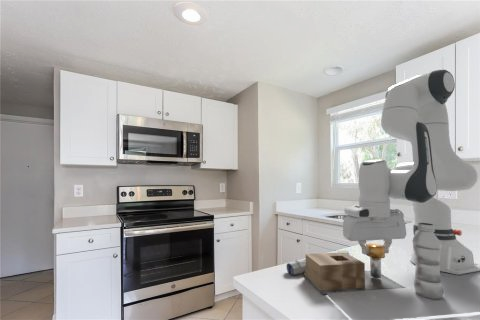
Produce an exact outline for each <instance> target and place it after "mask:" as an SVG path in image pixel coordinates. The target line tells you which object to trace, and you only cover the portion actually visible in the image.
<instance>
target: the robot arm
mask: <svg viewBox="0 0 480 320" xmlns="http://www.w3.org/2000/svg"><path fill="white" fill-rule="evenodd" d="M455 87H456V85H455V79H454V76H453V74H452V73H451V71H449V70H447V69H437V70H433V71H431V72H428V73H423V74H419V75H415V76H413V77H411V78H409V79H406V80H404V81H401V82H399V83H396V84H394V85H391V86H390V87H388V89H387V91H386V93H385V99H384V103H383V108H382V112H381V117H380V118H381V120H380V126H381V128H382V130H383V131H384V133H386V134H387V135H389V136H390V137H392V138H395V139H398V140H402V141H405V142H410V144H411V150H412V152H411V153H412V161H410V162H403V163H398V164H397V165H396V166H395V167H394V169H392V168H390V167H389V166H388V163H387V160H385V159H379V158H378V159H369V160H364V161H362V162H361V163H360V165H359V168H358V169H359V170H358V189H359V197H358V203H356V204H355V203H354V204H352V205H350V206H347V207H346V208H344V214H345V215H346V216H344V218H343V222H342V235H343V237H344V239H346V240H347V241H350V242H357V244H359V246H360V248H361V253H362V254H363V255H366V254H369V249H368V248H366V244H367V241H380V240H383V246H384V247H385V254H389V252H390V247H391V246H392V244H393V240H404V239H405V238H406V236H407V227H406V221H405V216H404V215H405V214H404V213H403V212H402V210H400V209H399V208H398V209H397V208H395V209H392V208H391V199H394V200H403V201H410V202H411V203H412V208H413V217H414V224H413V225H412V226H413V228H412V230H413V237H414V236H415V235H416V234H417V233H418V232H419V230H418V223H430V224H434V229H435V232H434V234H435V236H436V237H437V238H438V239H439V241H440V243H441V253H440V264H439V266H440V268H439V270H440V272H443V273H444V272H445V273H449V274H453V275H464V274H469V273H474V272H479V271H480V264H479V263H476V262H475V260H474V254H473V252H472V250H471V249H469V248H468V247H467V246H465V245H464V244H463V243H462V242H460V241H459V240H458V239H457V236H462V233H463V231H462V230H461V229H456V228H455V229H453V228H452V209H451V208H450V206H449V205H448V204H447V203H445V202H443V201H441V200H439V199H437V198H436V197H435V196H436V194H437V191H440V192H442V191H445V192H447V191H449V192H459V191H460V192H461V191H465V190H466V191H468V190H471V189H472V188H473V187H474V186H475V185H476V184H477V181H478V172H477V170H476V169H475V167H474V166H473V165H472V164H471V163H469V162H467V161H465V160H463V159H462V158H461V157H460V156H459V155H457V154H456V152H455V151H454V150H453V147H452V145H451V140H450V129H449V128H450V127H449V126H450V124H449V123H450V122H449V113H448V109H447V105H446V103H447V101H448V99H449V98H450V97H451V96H452V94H453V93H454V90H455ZM456 235H457V236H456ZM411 252H412V253H410V254H411V255H410V260H409V261H410V262H411V263H412V264H414V265H416V263H415V261H416V260H415V253H414V248H413V247H412V251H411ZM366 256H367V255H366Z"/></svg>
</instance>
